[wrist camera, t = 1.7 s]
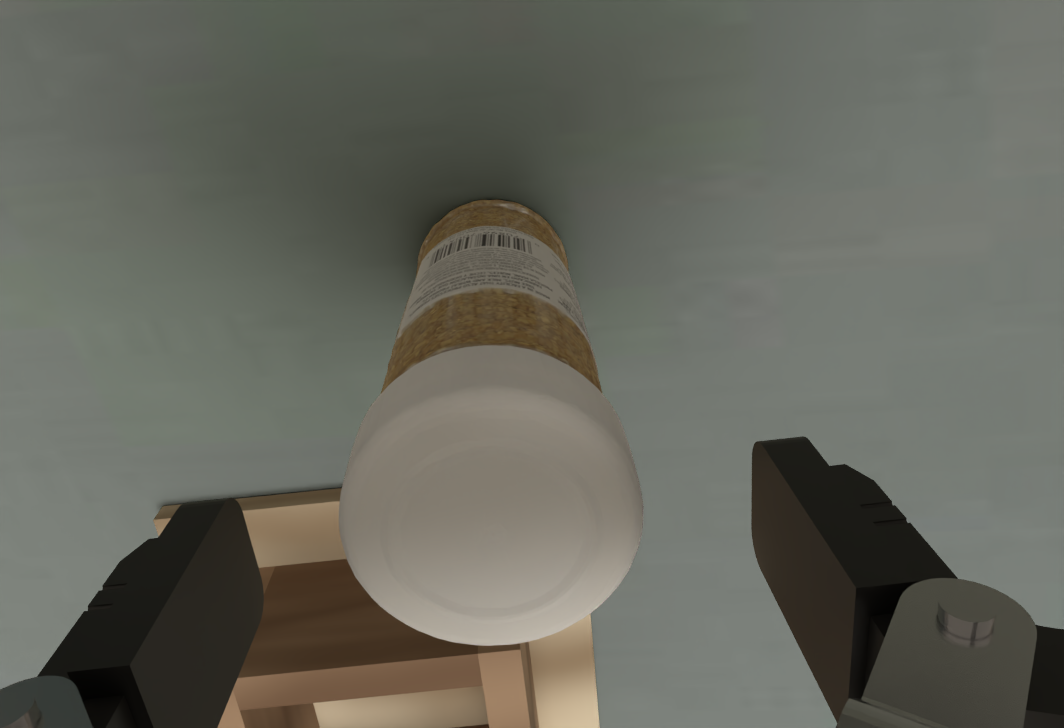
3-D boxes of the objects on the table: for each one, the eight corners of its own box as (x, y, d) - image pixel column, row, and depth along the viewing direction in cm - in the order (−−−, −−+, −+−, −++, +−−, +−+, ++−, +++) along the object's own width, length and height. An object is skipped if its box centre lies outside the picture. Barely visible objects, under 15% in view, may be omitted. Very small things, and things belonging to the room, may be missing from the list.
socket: (162, 506, 26) (78, 627, 21) (577, 464, 26) (596, 575, 21) (258, 795, 32) (211, 948, 27) (600, 760, 32) (621, 906, 27)
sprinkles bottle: (409, 328, 24) (318, 642, 12) (428, 181, 23) (345, 372, 10) (555, 350, 25) (611, 674, 12) (584, 208, 23) (684, 422, 11)
